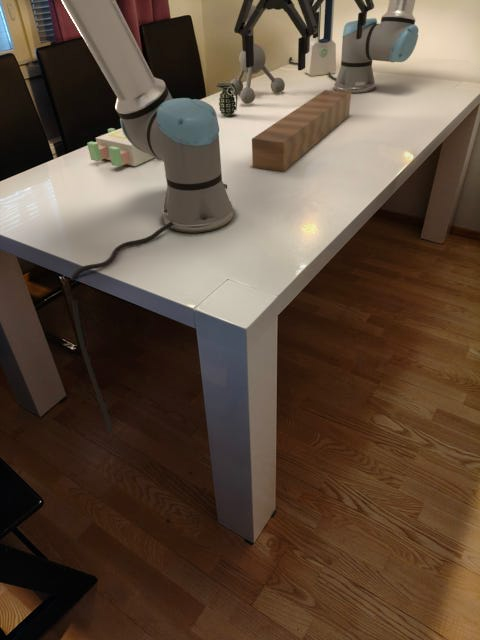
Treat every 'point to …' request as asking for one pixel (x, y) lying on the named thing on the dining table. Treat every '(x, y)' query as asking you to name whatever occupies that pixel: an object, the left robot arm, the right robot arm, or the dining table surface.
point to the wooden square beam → (299, 130)
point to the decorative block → (116, 149)
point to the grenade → (227, 99)
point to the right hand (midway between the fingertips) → (336, 38)
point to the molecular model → (254, 71)
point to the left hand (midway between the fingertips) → (275, 68)
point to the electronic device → (322, 46)
